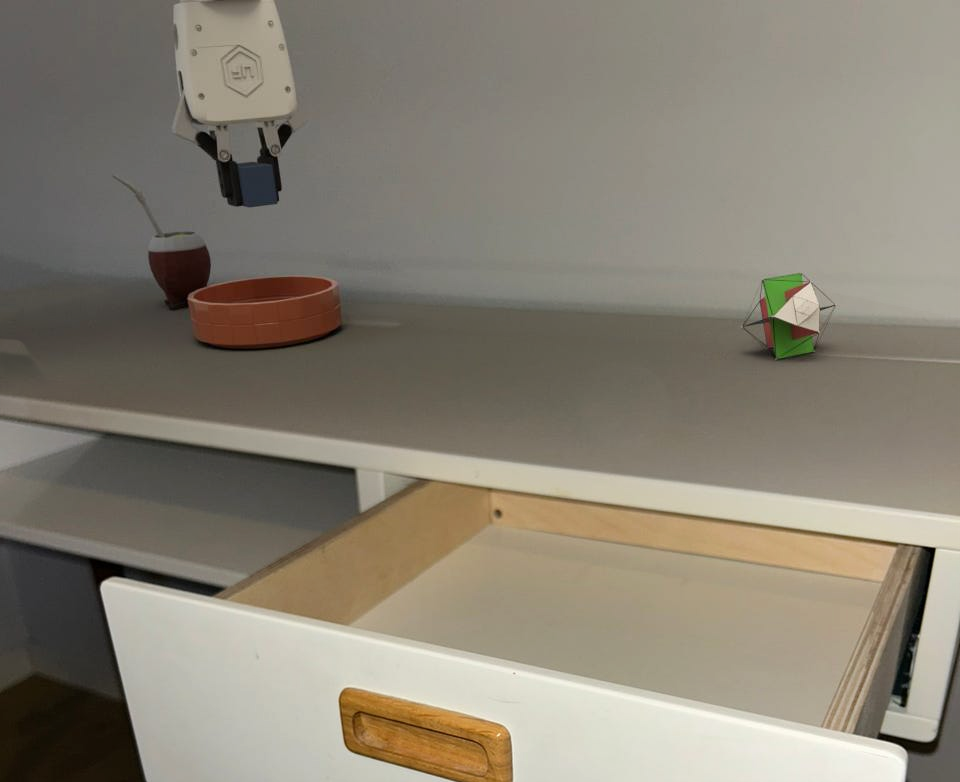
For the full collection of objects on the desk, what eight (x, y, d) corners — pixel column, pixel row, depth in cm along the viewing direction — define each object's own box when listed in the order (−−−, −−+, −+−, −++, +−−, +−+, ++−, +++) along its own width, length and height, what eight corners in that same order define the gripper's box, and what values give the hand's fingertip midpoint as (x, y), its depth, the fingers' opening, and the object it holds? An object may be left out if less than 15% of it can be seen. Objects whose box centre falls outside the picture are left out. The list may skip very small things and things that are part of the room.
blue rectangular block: (248, 207, 102) (241, 167, 100) (230, 203, 107) (223, 164, 105) (278, 204, 103) (272, 164, 101) (258, 199, 108) (253, 161, 106)
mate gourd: (228, 299, 130) (206, 165, 123) (188, 313, 124) (163, 172, 117) (179, 297, 133) (155, 167, 126) (137, 311, 127) (110, 174, 120)
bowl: (220, 359, 103) (212, 311, 101) (179, 332, 115) (171, 289, 112) (365, 334, 109) (360, 288, 107) (311, 311, 121) (306, 270, 119)
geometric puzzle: (717, 323, 95) (756, 254, 88) (778, 312, 97) (821, 244, 90) (755, 386, 92) (799, 319, 85) (817, 372, 95) (865, 307, 88)
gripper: (138, -16, 90) (181, 216, 99) (319, -23, 96) (345, 196, 105) (119, -9, 96) (161, 210, 105) (292, -16, 102) (318, 191, 111)
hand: (253, 201), depth 105 cm, fingers closed on blue rectangular block, 3 cm apart
